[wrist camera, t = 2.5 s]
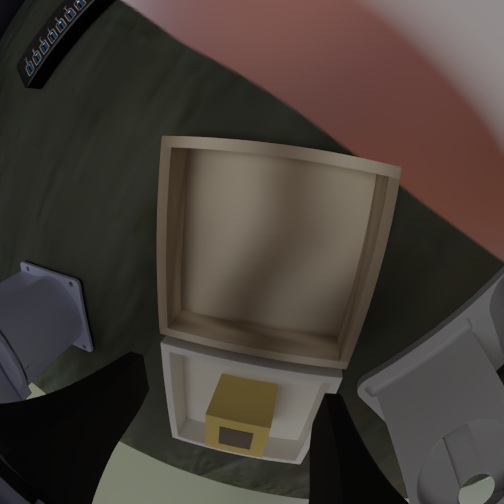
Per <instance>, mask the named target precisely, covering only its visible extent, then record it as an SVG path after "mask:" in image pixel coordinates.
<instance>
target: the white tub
mask: <svg viewBox="0 0 504 504" xmlns="http://www.w3.org/2000/svg"><path fill="white" fill-rule="evenodd" d="M161 353H162V363H163V373H164V382H165V390H166V398H167V405H168V412H169V418H170V425H171V431H172V437H174V438H177V439H180V440H183V441H186V442H190V443H193V444H197V445H200V446H204V447H208V448H211V449H215V450H220V451H224V452H228V453H233V454H237V455H242V456H247V457H253V458H258V459H264V460H271V461H278V462H286V463H294V464H301V462H302V460H303V458H304V457H305V455H306V453H307V451H308V449H309V447H310V439H311V430H312V423H313V421H314V418H315V416H316V414H317V411H318V409H319V406H320V404H321V401H322V399H323V396H324V394H325V393H333V394H336V392H337V390H338V388H339V385H340V383H341V381H342V378H343V377H342V369H339V368H330V367H322V366H314V365H307V364H300V363H294V362H287V361H281V360H275V359H269V358H264V357H258V356H253V355H248V354H243V353H238V352H233V351H229V350H224V349H220V348H215V347H211V346H207V345H202V344H198V343H194V342H190V341H186V340H182V339H179V338H175V337H171V336H168V335H166V336H165V337H164V339H163V340H162V342H161ZM222 373H223V374H227V375H232V376H236V377H241V378H246V379H251V380H256V381H262V382H267V383H273V384H278V388H277V395H276V401H275V407H274V413H273V419H272V425H271V430H270V433H269V436H268V439H267V443H266V446H265V449H264V452H263V455H262V457H256V456H250V455H245V454H240V453H235V452H231V451H226V450H222V449H218V448H214V447H210V446H206V445H205V414H206V411H207V409H208V406H209V404H210V401H211V399H212V396H213V394H214V392H215V389H216V387H217V384H218V381H219V379H220V376H221V374H222Z"/></svg>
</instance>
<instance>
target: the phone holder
mask: <svg viewBox="0 0 504 504" xmlns="http://www.w3.org/2000/svg"><path fill="white" fill-rule="evenodd" d="M503 364H504V266H503V267H502V268H501V269H500V270H499V271H498V272H497V273H496V274H495V275H494V276H493V277H492V278H491V279H490V280H489V281H488V282H487V283H486V284H485V285H484V286H483V287H482V288H481V289H480V290H479V291H478V292H477V293H475V294H474V295H473V296H472V297H471V298H470V299H469V300H468V301H466V302H465V303H464V304H463V305H462V306H461V307H459V308H458V309H457V310H456V311H455V312H453V313H452V314H451V315H450V316H449V317H447V318H446V319H445V320H444V321H442V322H441V323H440V324H439V325H437V326H436V327H435V328H433V329H432V330H431V331H429V332H428V333H427V334H425V335H424V336H423V337H421V338H420V339H418V340H417V341H416V342H414V343H413V344H411V345H410V346H409V347H407V348H406V349H404V350H403V351H401V352H400V353H398V354H397V355H395V356H394V357H392V358H391V359H389V360H388V361H386V362H384V363H383V364H381V365H380V366H378V367H376V368H375V369H373V370H371V371H370V372H368V373H366V374H365V375H363V376H362V377H361V378H360V379H359V380H358V382H357V392H358V395H359V397H360V398H361V399H362V400H363V401H364V402H365V403H366V404H368V405H369V406H370V407H371V408H372V409H373V410H374V411H375V412H376V413H377V414H378V415H379V416H380V417H381V418H382V419H383V420H384V421H385V422H386V424H387V427H388V430H389V433H390V436H391V439H392V442H393V446H394V449H395V452H396V455H397V459H398V462H399V465H400V469H401V472H402V476H403V479H404V483H405V486H406V490H407V494H408V498H409V501H410V504H460V503H459V500H458V495H459V491H460V489H461V487H462V486H463V484H464V483H465V482H466V481H467V480H468V479H470V478H471V477H473V476H475V475H477V474H482V473H483V474H489V475H491V476H492V477H493V479H494V481H495V488H494V491H493V493H492V495H491V497H490V498H489V499H488V500H487V501H486V502H485V503H484V504H504V385H503V384H502V382H501V380H500V378H499V376H498V374H497V373H496V370H498V369H499V368H500V367H501V366H502V365H503Z"/></svg>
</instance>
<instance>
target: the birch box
mask: <svg viewBox="0 0 504 504" xmlns="http://www.w3.org/2000/svg"><path fill="white" fill-rule="evenodd" d="M400 175H401V167H398V166H394V165H390V164H385V163H381V162H377V161H373V160H368V159H363V158H359V157H354V156H349V155H344V154H339V153H333V152H328V151H322V150H316V149H310V148H304V147H297V146H290V145H282V144H274V143H266V142H257V141H247V140H236V139H223V138H208V137H187V136H162V143H161V155H160V168H159V185H158V207H157V288H158V311H159V327H160V334H164V335H168V336H171V337H175V338H179V339H182V340H186V341H190V342H194V343H198V344H202V345H207V346H211V347H215V348H220V349H224V350H229V351H233V352H238V353H243V354H248V355H253V356H258V357H264V358H269V359H275V360H281V361H287V362H294V363H300V364H307V365H314V366H322V367H330V368H339V369H347V366H348V364H349V361H350V359H351V356H352V354H353V351H354V348H355V346H356V343H357V340H358V337H359V335H360V332H361V329H362V326H363V323H364V320H365V317H366V314H367V311H368V308H369V305H370V302H371V299H372V296H373V292H374V289H375V286H376V282H377V279H378V275H379V272H380V268H381V264H382V261H383V257H384V253H385V249H386V245H387V241H388V237H389V232H390V228H391V223H392V219H393V214H394V209H395V204H396V199H397V193H398V188H399V182H400Z"/></svg>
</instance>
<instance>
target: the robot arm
mask: <svg viewBox="0 0 504 504" xmlns="http://www.w3.org/2000/svg"><path fill="white" fill-rule="evenodd" d="M21 270H22V271H21V272H19V273H17V274H15V275H13V276H12V277H10V278H8V279H6V280H4V281H3V282H1V283H0V504H92V501H93V498H94V495H95V492H96V489H97V487H98V484H99V481H100V479H101V476H102V474H103V471H104V469H105V467H106V465H107V463H108V460H109V458H110V456H111V454H112V452H113V450H114V448H115V447H116V445H117V443H118V442H119V440H120V439H121V437H122V436H123V434H124V433H125V431H126V430H127V428H128V427H129V425H130V424H131V422H132V420H133V419H134V417H135V416H136V414H137V413H138V411H139V409H140V408H141V406H142V404H143V401H144V399H145V397H146V395H147V393H148V390H149V386H148V381H147V376H146V370H145V364H144V358H143V355H140V354H137V353H134V352H131V351H130V352H129V353H127V354H125V355H123V356H122V357H120V358H118V359H117V360H115V361H113V362H112V363H110V364H108V365H107V366H105V367H103V368H102V369H100V370H98V371H96V372H95V373H93V374H91V375H89V376H87V377H85V378H83V379H81V380H79V381H77V382H75V383H73V384H71V385H69V386H67V387H65V388H62V389H60V390H57V391H55V392H52V393H49V394H46V395H43V396H40V397H35V398H32V399H28V400H26V398H27V397H28V396H29V395H30V394H31V393H32V392H31V391H30V389H29V387H28V385H29V384H30V383H31V382H32V381H34V380H35V379H36V378H37V377H38V376H39V375H40V374H41V373H42V372H43V371H44V370H45V369H46V368H47V367H48V366H49V365H50V364H51V363H52V362H53V361H54V360H55V359H57V358H58V357H59V356H60V355H61V354H62V353H63V352H64V351H65V350H66V349H67V348H68V347H69V346H71V345H72V344H73V345H75V346H77V347H79V348H81V349H84V350H86V351H88V352H92V351H93V344H92V340H91V336H90V331H89V327H88V322H87V317H86V312H85V307H84V301H83V295H82V289H81V284H80V281H79V280H78V279H75V278H72V277H69V276H66V275H63V274H60V273H57V272H54V271H51V270H48V269H45V268H42V267H39V266H36V265H34V264H31V263H28V262H25V261H23V262H21ZM309 504H409V503H408V502H407V501H406V500H405V499H404V498H403V497H402V496H401V495H400V494H399V492H398V491H397V490H396V489H395V488H394V487H393V486H392V485H391V483H390V482H389V481H388V480H387V478H386V477H385V476H384V474H383V473H382V471H381V470H380V469H379V467H378V466H377V464H376V463H375V461H374V460H373V458H372V456H371V455H370V453H369V451H368V450H367V448H366V446H365V444H364V442H363V441H362V439H361V437H360V435H359V433H358V431H357V429H356V427H355V425H354V423H353V420H352V418H351V416H350V414H349V412H348V409H347V407H346V404H345V402H344V400H343V397H342V395H341V394H333V393H325V394H324V396H323V399H322V401H321V404H320V406H319V409H318V411H317V414H316V416H315V418H314V421H313V423H312V430H311V439H310V494H309Z"/></svg>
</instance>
